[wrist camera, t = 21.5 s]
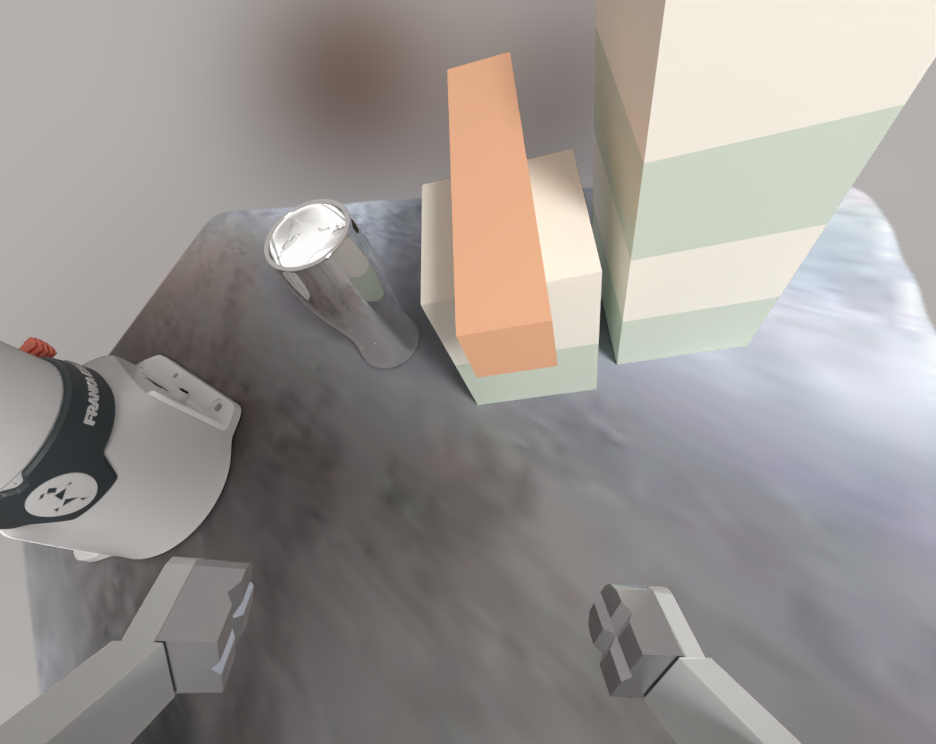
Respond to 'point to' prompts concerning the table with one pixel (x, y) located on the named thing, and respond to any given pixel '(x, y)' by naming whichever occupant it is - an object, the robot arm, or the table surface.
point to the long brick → (495, 226)
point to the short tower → (566, 274)
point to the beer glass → (341, 279)
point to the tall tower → (733, 151)
